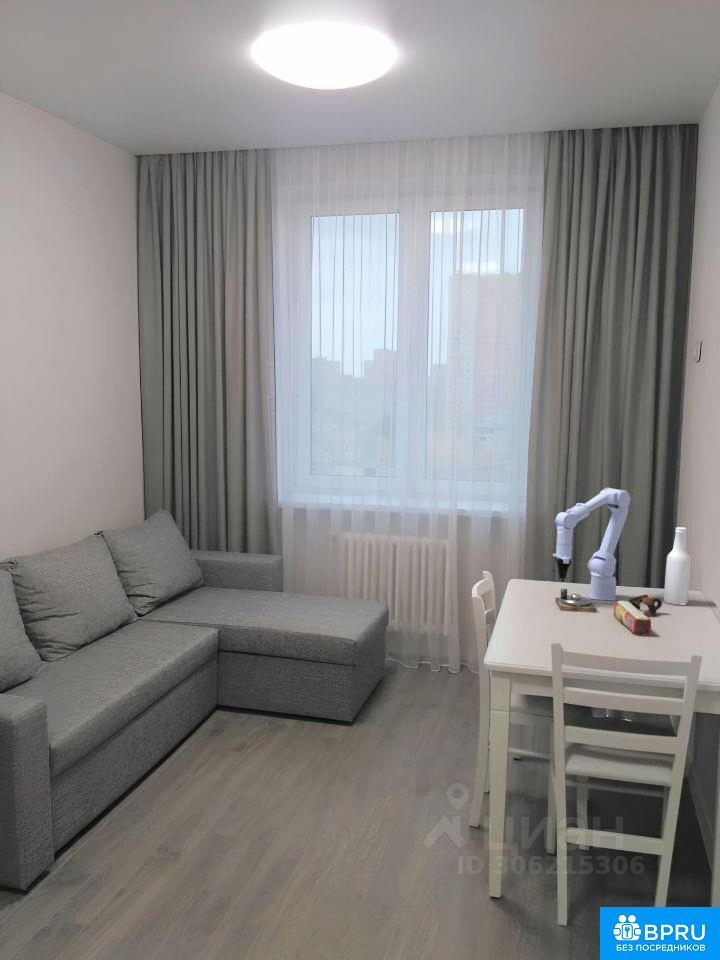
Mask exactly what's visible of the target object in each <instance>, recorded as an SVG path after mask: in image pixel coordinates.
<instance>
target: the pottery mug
mask: <svg viewBox="0 0 720 960" xmlns="http://www.w3.org/2000/svg"><path fill="white" fill-rule="evenodd" d="M628 602H630V603H631V604H632V605H633V606H634V607H635V608H637V609H638V610H639V611H640V610H641V606H640V604H641V603H642V604H644V605H646V606H647V608H648V609H647V610H644V613H643V614H644V615H645V616H650V617H652V616H653V617H655V616H657V611H658V610H659V609H661V607H662V604H663V601H662V599H661V598H659V597H652V598H650V597H649V595H648V594H642V595H638V596H636V597H633V598H630V599H629V600H628ZM655 603H657V604H656V605H655Z"/></svg>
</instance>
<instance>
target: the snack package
mask: <svg viewBox="0 0 720 960" xmlns="http://www.w3.org/2000/svg"><path fill="white" fill-rule="evenodd" d="M613 616H614V618H616V619H617V620H618V621H620V623H622V624H623V625H624V626H625V627H626V628H628V630H630V631H631V632H632V634H634V635H635V634H637V635H636V636H646V635H645V634H648V635H649V634H650V633H651V631H652V629H651V628H652V621H651V619H650V618H649V617H647V616H645V613H643V612H642V611H641V610H640V609H639V610H638V609H637V608H635V607H634V606H633V605H632V604H631V603H630V602H629V601H628V600H618V601H616V602H615V603H614V605H613ZM643 634H644V635H643Z"/></svg>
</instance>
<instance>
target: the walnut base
mask: <svg viewBox="0 0 720 960" xmlns="http://www.w3.org/2000/svg"><path fill="white" fill-rule="evenodd" d="M555 603H556V605H557V607H558V608H559V610H560V611H565V612H566V611H568V612H580V613H581V612H583V613H584V612H585V613H597V608H596V606H595V604H594V603H593V601H591V604H590V605H588V606H572V605H567V604H564V603H562V602H561V597H555Z"/></svg>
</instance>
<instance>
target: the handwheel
mask: <svg viewBox="0 0 720 960" xmlns="http://www.w3.org/2000/svg"><path fill="white" fill-rule="evenodd" d="M560 598H561V602H562V603H564V604H567V605H572V606H588V605H590V604H591V602H592V599H591V598H588V597H585V596H582V595H581V594H578V593H572V594H571V595H568V589H567V588H561V589H560Z"/></svg>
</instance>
